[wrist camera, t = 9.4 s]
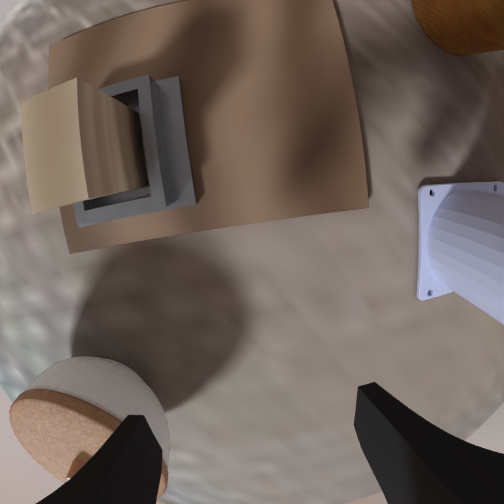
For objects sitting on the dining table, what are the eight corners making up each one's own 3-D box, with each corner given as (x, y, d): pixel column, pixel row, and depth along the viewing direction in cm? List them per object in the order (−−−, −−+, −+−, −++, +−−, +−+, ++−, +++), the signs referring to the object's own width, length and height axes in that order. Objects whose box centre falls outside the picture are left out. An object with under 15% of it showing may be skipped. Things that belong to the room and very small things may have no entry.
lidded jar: (39, 324, 18) (-31, 396, 9) (169, 333, 19) (133, 444, 10) (78, 424, 21) (44, 498, 12) (189, 438, 21) (179, 531, 12)
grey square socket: (180, 79, 14) (171, 63, 11) (197, 203, 16) (191, 209, 13) (68, 111, 14) (45, 104, 11) (83, 225, 16) (61, 235, 13)
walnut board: (326, -2, 13) (330, -7, 13) (363, 206, 17) (368, 207, 16) (55, 49, 13) (49, 45, 12) (75, 250, 17) (69, 253, 16)
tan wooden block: (138, 112, 14) (76, 77, 7) (148, 186, 15) (88, 198, 8) (98, 124, 14) (21, 102, 7) (108, 195, 15) (32, 214, 8)
